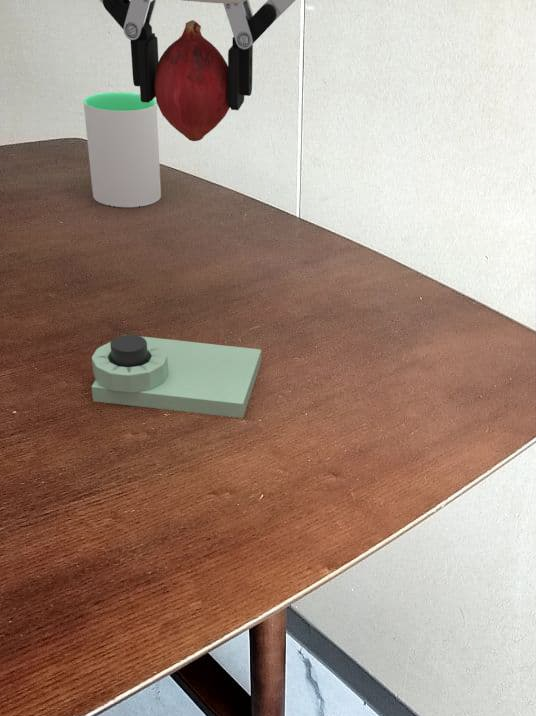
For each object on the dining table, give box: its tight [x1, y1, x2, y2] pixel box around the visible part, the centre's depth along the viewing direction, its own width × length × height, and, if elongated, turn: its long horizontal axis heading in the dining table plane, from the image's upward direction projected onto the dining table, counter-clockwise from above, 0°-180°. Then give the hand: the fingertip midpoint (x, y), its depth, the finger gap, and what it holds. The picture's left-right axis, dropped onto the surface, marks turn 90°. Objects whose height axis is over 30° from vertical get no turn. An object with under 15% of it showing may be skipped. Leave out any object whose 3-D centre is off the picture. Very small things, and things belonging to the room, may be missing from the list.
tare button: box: [109, 334, 148, 367], centre depth 68 cm, size 3×3×2 cm
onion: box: [154, 19, 230, 142], centre depth 64 cm, size 6×6×8 cm
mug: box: [83, 91, 162, 208], centre depth 102 cm, size 12×8×10 cm, turn 13°
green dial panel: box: [90, 335, 262, 419], centre depth 70 cm, size 12×9×3 cm
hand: (193, 99), depth 64 cm, fingers closed on onion, 5 cm apart
